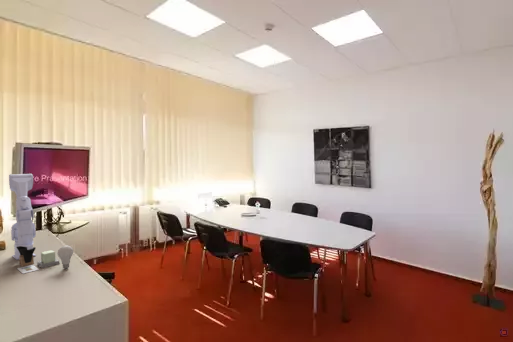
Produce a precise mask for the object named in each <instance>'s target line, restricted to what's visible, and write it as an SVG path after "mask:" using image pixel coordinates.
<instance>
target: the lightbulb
mask: <svg viewBox="0 0 513 342" xmlns="http://www.w3.org/2000/svg"><path fill="white" fill-rule="evenodd" d="M73 253H74V248H73V247H72V246H70V245H62V246H61V247H59V249H58V250H57V256H58V257H59V259H60V261H61V264H62V269H64V270H68V268H70V263H71V258H72V256H73V255H74V254H73Z"/></svg>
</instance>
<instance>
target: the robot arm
mask: <svg viewBox="0 0 513 342" xmlns="http://www.w3.org/2000/svg"><path fill="white" fill-rule="evenodd" d="M8 184H9V189H10V191H11V192H14V193H15V195H16V199H15V206H16V211H15V220H16V222H15V223H14V224H12V226H11V229H10V230H11V232H10V233H11V236H10V237H11V241H12V242H13V241H14V245H13V247H14V250H13V251H14V254H12V258H14V259H15V260H18V261H19V256H20V255H23V256H24V261H25V263H29V262H31V260H32V255H33V257H36V256H37V255H36V254H35V251H36V247H35V246H34V238H36V232H37V231H36V230H37V229H36V224H35V223H34V222H33V220H34V218H35V217H34V209H33V207H32V200H31V198H30V197H29V196H28V192H29V191H31V190H32V189H33V187H34V174H32V173H18V174H17V173H16V174H12V173H10V174H8Z"/></svg>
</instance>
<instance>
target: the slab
mask: <svg viewBox="0 0 513 342" xmlns="http://www.w3.org/2000/svg"><path fill="white" fill-rule="evenodd" d="M36 264H37V266H38V267H40V268H42V269H44V268H49V267H52V266H56V265H60V260H58V259H57V258H56V257H55V261H53V262H49V263H45V264H44V263H43V262H41V260H38V261H37V263H36Z"/></svg>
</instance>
